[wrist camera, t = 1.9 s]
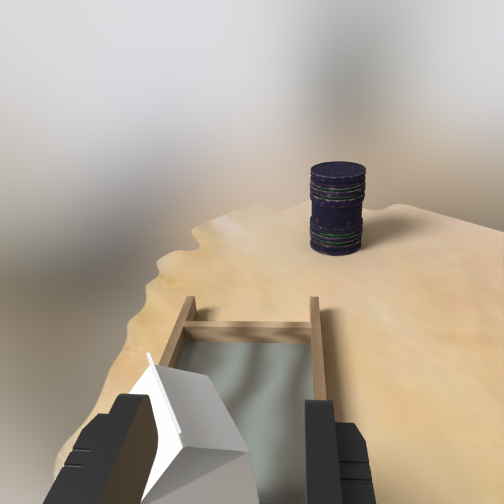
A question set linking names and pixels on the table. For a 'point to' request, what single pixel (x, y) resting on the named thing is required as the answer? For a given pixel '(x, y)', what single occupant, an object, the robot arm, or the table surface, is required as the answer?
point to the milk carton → (194, 442)
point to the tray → (259, 387)
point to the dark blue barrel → (336, 207)
